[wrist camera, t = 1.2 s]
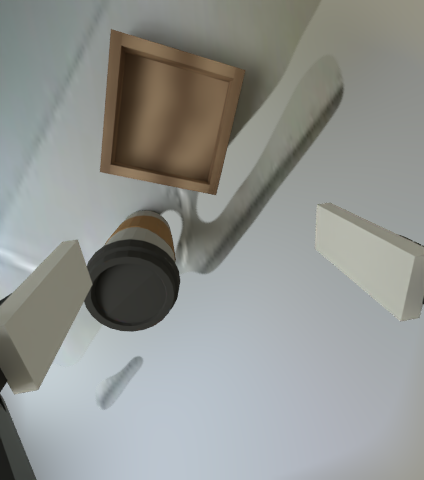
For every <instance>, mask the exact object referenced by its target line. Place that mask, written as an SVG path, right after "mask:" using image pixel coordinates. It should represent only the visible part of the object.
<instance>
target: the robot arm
mask: <svg viewBox="0 0 424 480" xmlns="http://www.w3.org/2000/svg"><path fill="white" fill-rule="evenodd" d="M315 249H316V250H317V251H318V252H319V253H320V254H322V255H323V256H324V257H325V258H326V259H328V260H329V261H330V262H331V263H332V264H333V265H335V266H336V267H337V268H338V269H339V270H341V271H342V272H343V273H344V274H345V275H346V276H348V277H349V278H350V279H351V280H352V281H354V282H355V283H356V284H357V285H358V286H360V287H361V288H362V289H363V290H364V291H365V292H366V293H368V294H369V295H370V296H371V297H372V298H374V299H375V300H376V301H377V302H378V303H379V304H381V305H382V306H383V307H384V308H385V309H387V310H388V311H389V312H390V313H391V314H392V315H394V316H395V317H396V318H397V319H398V320H400V321H406V320H411V319H416V318H419V317H420V314H421V309H422V305H423V304H424V246H421V244H419V243H417V242H413V241H412V240H410V239H408V238H406V237H404V236H401V235H397V234H395V233H393V232H391V231H388V230H386V229H384V228H382V227H380V226H378V225H376V224H374V223H372V222H369V221H368V220H365V219H363V218H361V217H359V216H357V215H355V214H353V213H351V212H349V211H346V210H344V209H342V208H340V207H338V206H336V205H333V204H332V203H325V204H318V205H317V216H316V235H315ZM91 286H92V281H91V278H90V275H89V272H88V269H87V266H86V263H85V260H84V257H83V254H82V251H81V248H80V245H79V242H78V240H72V241H65V242H62V243H61V244H60V245H59V246H58V247H57V248H56V249H55V250H54V251H53V252H52V253H51V254H50V255H49V256H48V257H47V258H46V259H45V260H44V261H43V262H42V263H41V264H40V265H39V267H38V268H37V269H36V270H35V271H34V272H33V273H32V274H31V275H30V276H29V277H28V278H27V279H26V280H25V281H24V282H23V283H22V284H21V285H20V286H19V287H18V288H17V289H16V290H15V291H14V292H13V293H11V294H10V295H8V296H7V297H5V298H4V299H2V300H1V301H0V392H1V390H2V389H3V387H4V386H5V384H6V382H7V383H8V384H9V386H10V388H11V389H12V391H13V393H14V394H19V393H25V392H30V391H35V390H38V389H39V387H40V385H41V383H42V382H43V379H44V378H45V376H46V374H47V372H48V370H49V368H50V366H51V364H52V362H53V360H54V358H55V356H56V354H57V352H58V350H59V349H60V347H61V345H62V343H63V341H64V339H65V337H66V335H67V333H68V331H69V329H70V327H71V325H72V323H73V321H74V319H75V317H76V316H77V314H78V312H79V310H80V308H81V306H82V304H83V302H84V300H85V298H86V296H87V294H88V292H89V290H90V288H91ZM0 480H36V477H35V475H34V472H33V470H32V467H31V465H30V463H29V460H28V457H27V455H26V453H25V450H24V448H23V445H22V443H21V440H20V438H19V436H18V433H17V430H16V428H15V426H14V423H13V421H12V418H11V416H10V413H9V411H8V409H7V406H6V404H5V401H4V399H3V398H2V396H1V394H0Z"/></svg>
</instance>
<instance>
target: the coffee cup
mask: <svg viewBox="0 0 424 480" xmlns="http://www.w3.org/2000/svg"><path fill="white" fill-rule="evenodd" d="M175 260H176V259H175V252H174V246H173V240H172V235H171V231H170V227H169V225H168V223H167V221H166V220H165V219H164V218H163V217H162V216H160V215H159V214H157V213H155V212H153V211H146V210H144V211H138V212H135V213H132V214H131V215H130V216H128V217H127V218H126V220H125V221H124V222H123V223H122V224H121V225H120V226H119V227H118V228H117V229H116V231H115V232H114V233H113V234H112V235H111V237H110V238H109V239H108V241H107V242H106V243H105V245H104V247H102V248H101V249H100V250H98V251H97V252H95V254H94V255H93V256H92V258H91V259H90V260H89V262H88V264H87V269H88V272H89V275H90V278H91V281H92V286H91V288H90V290H89V292H88V294H87V296H86V298H85V300H84V302H85V305H86V308H87V309H88V311H89V312H90V314H91V315H92V316H93V317H94V318H95V319H96V320H97V321H99V322H100V323H101V324H103V325H105V326H107V327H109V328H112V329H116V330H120V331H138V330H144V329H147V328H149V327H152V326H154V325H156V324H157V323H159V322H160V321H162V320H163V319H164V318H165V316H166V315H167V314H168V313H169V311H170V310H171V309H172V307H173V305H174V304H175V302H176V300H177V297H178V291H179V285H180V276H179V270H178V268H177V266H176V264H175Z"/></svg>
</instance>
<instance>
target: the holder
mask: <svg viewBox="0 0 424 480" xmlns="http://www.w3.org/2000/svg"><path fill="white" fill-rule="evenodd" d="M244 74H245V70H243V69H240V68H236V67H233V66H230V65H227V64H223V63H220V62H217V61H213V60H210V59H207V58H204V57H200V56H197V55H194V54H191V53H187V52H184V51H181V50H178V49H174V48H171V47H168V46H164V45H161V44H158V43H155V42H151V41H148V40H145V39H142V38H138V37H135V36H132V35H129V34H125V33H122V32H119V31H115V30H112V29H111V36H110V49H109V62H108V75H107V88H106V101H105V114H104V127H103V140H102V153H101V166H100V172H103V173H108V174H113V175H118V176H123V177H128V178H133V179H138V180H143V181H148V182H153V183H158V184H163V185H168V186H173V187H178V188H183V189H188V190H193V191H198V192H203V193H208V194H213V195H216V193H217V189H218V185H219V180H220V176H221V172H222V168H223V163H224V159H225V155H226V151H227V146H228V142H229V138H230V134H231V129H232V125H233V121H234V117H235V112H236V108H237V104H238V100H239V95H240V91H241V87H242V83H243V78H244Z"/></svg>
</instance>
